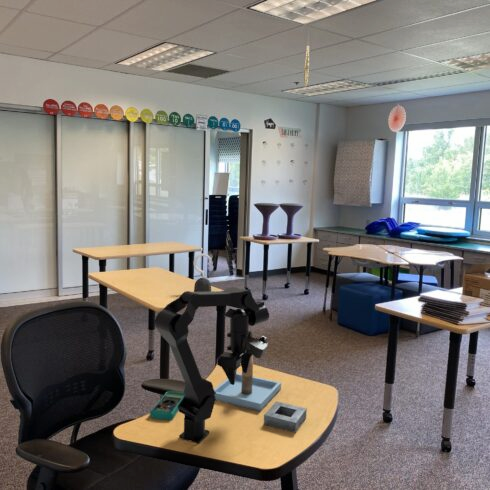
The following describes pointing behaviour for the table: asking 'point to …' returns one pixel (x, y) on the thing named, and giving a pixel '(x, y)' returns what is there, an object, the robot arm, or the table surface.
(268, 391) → the slate-blue tray
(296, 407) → the grey socket block
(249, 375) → the walnut dowel
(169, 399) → the digital multimeter
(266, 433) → the table surface
